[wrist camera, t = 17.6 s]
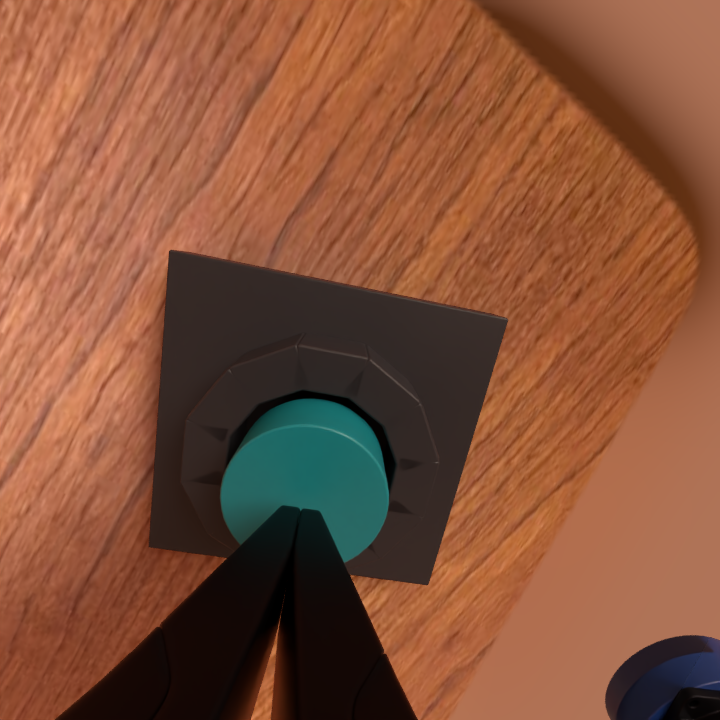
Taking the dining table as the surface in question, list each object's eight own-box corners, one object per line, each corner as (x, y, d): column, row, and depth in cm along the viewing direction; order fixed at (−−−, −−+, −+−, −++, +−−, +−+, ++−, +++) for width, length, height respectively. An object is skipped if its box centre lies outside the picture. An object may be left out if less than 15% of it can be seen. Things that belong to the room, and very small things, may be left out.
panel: (493, 314, 12) (540, 328, 9) (421, 560, 14) (441, 634, 11) (187, 251, 11) (129, 244, 8) (165, 523, 13) (114, 594, 10)
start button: (396, 411, 10) (406, 440, 8) (366, 532, 11) (370, 582, 9) (250, 385, 9) (228, 410, 8) (233, 513, 10) (210, 560, 9)
